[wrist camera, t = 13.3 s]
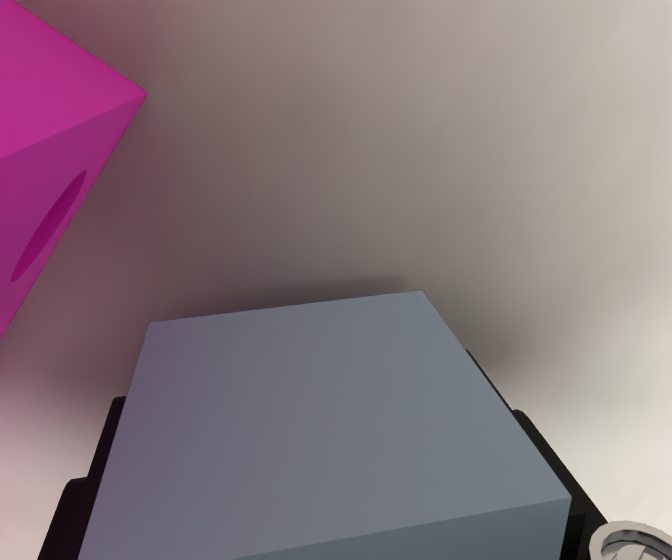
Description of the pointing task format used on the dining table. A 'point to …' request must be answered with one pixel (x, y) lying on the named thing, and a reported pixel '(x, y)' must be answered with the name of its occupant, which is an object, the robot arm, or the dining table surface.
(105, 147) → the toy block
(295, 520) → the slate cube
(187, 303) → the dining table surface
